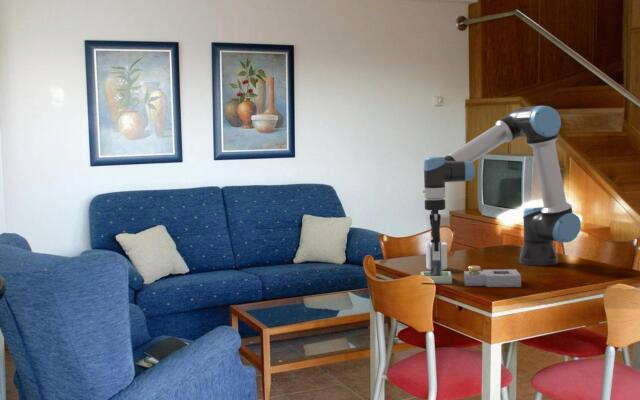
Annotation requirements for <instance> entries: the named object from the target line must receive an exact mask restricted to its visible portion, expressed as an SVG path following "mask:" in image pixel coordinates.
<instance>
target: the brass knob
mask: <svg viewBox="0 0 640 400" xmlns="http://www.w3.org/2000/svg"><path fill="white" fill-rule="evenodd" d="M467 267H468V268H467V271H471V274H478V271H482V266H480V265H469V266H468V265H467Z"/></svg>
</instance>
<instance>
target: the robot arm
mask: <svg viewBox="0 0 640 400" xmlns="http://www.w3.org/2000/svg"><path fill="white" fill-rule="evenodd" d="M561 126H562V120H561V115H560V114H559V113H558V111H557V110H556V109H555V108H553V107H551V106H548V105H534V106H521V107H519V108H516V109H515V110H513V111H511V112H509V113H508V114H506V115H504V116H503V117H502V118H500V119H498V120H497V121H496V122H495V125H493V126H492V127H491V128H489V129H487V130H486V131H484V132H483V133H481V134H480V135H477V136H476V137H474V138H472V139H471V140H470V141H468V142H466V143H465V144H464V145H461V146H460V147H459V148H457V149H456V150H454V151H452V152H450V153H449V154H448V155H446V156H444V157H443V156H428V157H425V158H424V160H423V161H424V162H423V178H424V181H423V182H424V189H423V190H422V193H423V194H424V198H425V199H424V210H426V211H430V214H429V221H430V226H431V227H430V229H431V231H430V236H431V238H430V241H431V243H432V248H433V260H440V241H441V233H440V231H441V229H440V227H441V220H442V218H441V217H442V215H441V213H439V211H444V210H446V199H445V198H446V183H454V182H455V183H457V182H468V181H469V182H470V181H472V180H473V179H474V178H475V175H476V167H475V164H474V163H473V162H475V161H477V160H478V159H480V158H482V157H483V156H485V155H486V154H488V153H490V152H491V151H493V150H494V149H496V148H498V147H499V146H500V145H503V144H505V142H506V143H510V142H512V141H514V140H516V139H518V138H525V140H526V144H527V145H528V146H529V147H531V148H532V154H533V159H534V164H535V169H536V173H537V178H538V183H539V187H540V194H541V198H542V204H543V206H539V207H527V208H525V209H524V210H523V216H522V217H523V218H522V219H523V245H522V249H521V250H520V251H521V252H520V255H519V259H518V260H519V264H522V265H524V266H525V265H526V266H536V267H537V266H539V267H542V266H546V267H547V266H553V265H555V266H556V265H558V264H559V263H558V262H559V260H558V254H557V252H556V249H555V246H554V242H557V243H570V242H572V241H574V240H575V239H576V238H577V237H578V235H579V234H580V232H581V228H582V221H581V219H580V218H579V216H578V215H576V214H575V213H573V207H572V204H570V203H569V202H567V199H566V194H565V188H564V183H563V178H562V173H561V168H560V167H561V166H560V163H559V157H558V154H557V153H558V152H557V148H556V147H557V146H556V142H557V140H558V139H559V137H558V132H560V128H561Z"/></svg>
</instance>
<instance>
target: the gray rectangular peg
mask: <svg viewBox="0 0 640 400" xmlns="http://www.w3.org/2000/svg"><path fill="white" fill-rule="evenodd" d="M441 242H442V241H441V240H440V260H433V248H432V243H431V240H430V241H429V243H430V267H431V270H430V271H431V276H442V271H443V270H441Z"/></svg>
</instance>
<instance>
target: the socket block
mask: <svg viewBox="0 0 640 400" xmlns="http://www.w3.org/2000/svg"><path fill="white" fill-rule="evenodd" d="M518 271H519V270H517V269H512V268H511V269H505V268H504V269H482V270H480V271H478V274H471V271H469V270H463V283H464V286H466V287H467V286H469V287H471V286H473V287H475V286H477V287H480V286H481V287H482V286H483V287H486V288H521V287H522V275H521V273H519V272H518Z"/></svg>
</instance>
